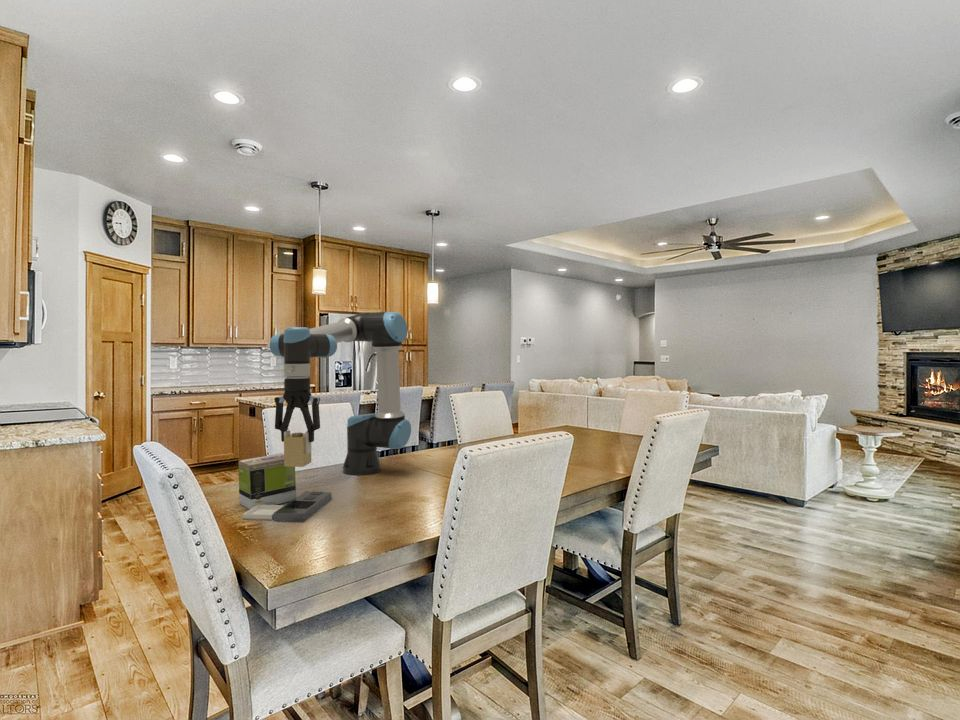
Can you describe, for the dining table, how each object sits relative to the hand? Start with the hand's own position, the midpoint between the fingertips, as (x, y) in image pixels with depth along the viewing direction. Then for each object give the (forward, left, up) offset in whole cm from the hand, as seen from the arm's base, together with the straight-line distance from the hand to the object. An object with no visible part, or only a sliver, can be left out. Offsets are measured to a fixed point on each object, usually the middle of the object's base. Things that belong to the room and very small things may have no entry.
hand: (297, 452), depth 160 cm
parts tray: (+3, -9, -19) cm, 21 cm away
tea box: (-9, -15, -19) cm, 26 cm away
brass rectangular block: (0, 0, -4) cm, 4 cm away
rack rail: (-3, +1, -19) cm, 19 cm away
